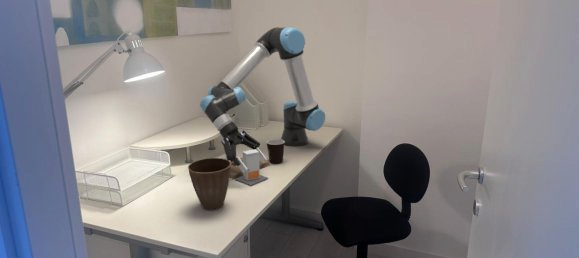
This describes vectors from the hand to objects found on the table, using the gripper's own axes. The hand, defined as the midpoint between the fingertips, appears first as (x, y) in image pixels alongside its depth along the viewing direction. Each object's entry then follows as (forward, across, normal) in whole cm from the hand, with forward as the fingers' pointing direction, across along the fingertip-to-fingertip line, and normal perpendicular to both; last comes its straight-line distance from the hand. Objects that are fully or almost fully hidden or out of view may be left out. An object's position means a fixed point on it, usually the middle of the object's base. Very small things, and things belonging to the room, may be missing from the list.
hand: (255, 165), depth 161 cm
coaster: (+3, 0, -6) cm, 7 cm away
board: (-5, -8, -15) cm, 18 cm away
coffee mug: (+1, -25, -9) cm, 27 cm away
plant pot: (+5, +27, -5) cm, 28 cm away
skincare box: (+3, 0, -6) cm, 7 cm away
